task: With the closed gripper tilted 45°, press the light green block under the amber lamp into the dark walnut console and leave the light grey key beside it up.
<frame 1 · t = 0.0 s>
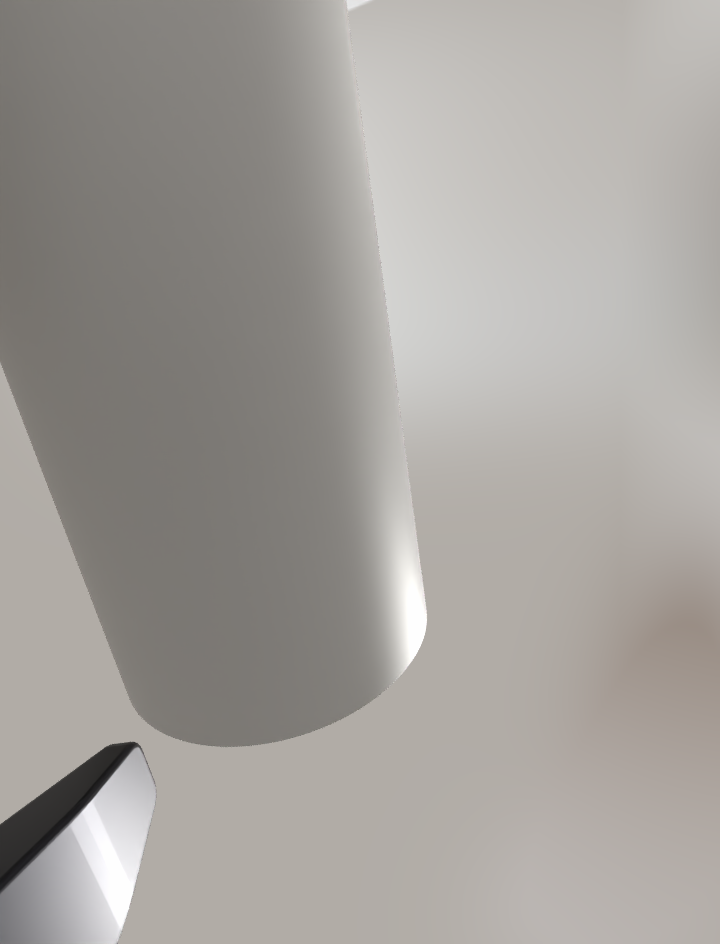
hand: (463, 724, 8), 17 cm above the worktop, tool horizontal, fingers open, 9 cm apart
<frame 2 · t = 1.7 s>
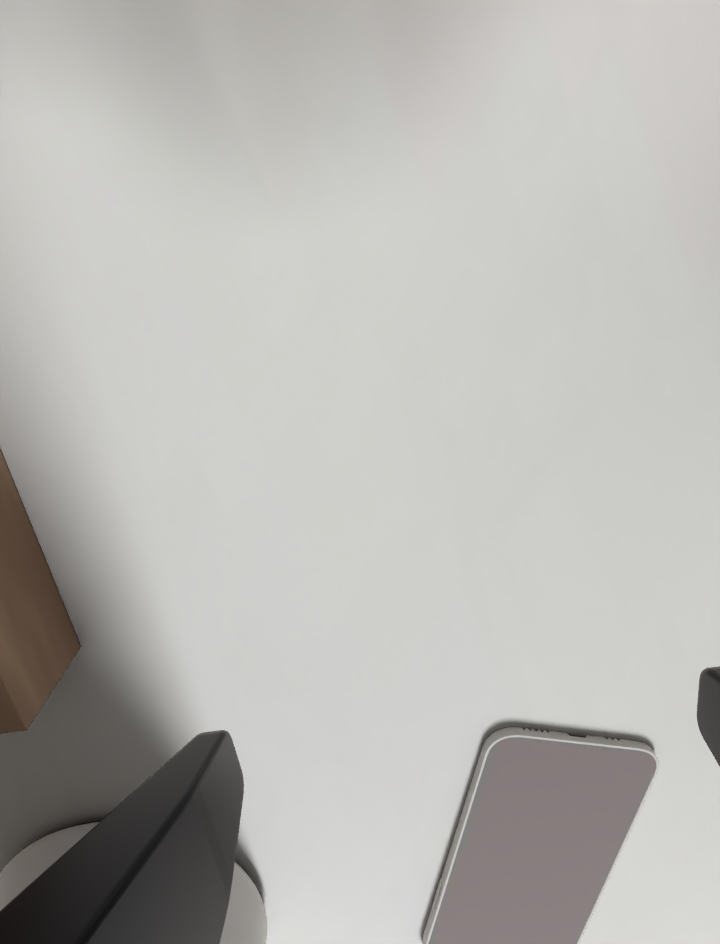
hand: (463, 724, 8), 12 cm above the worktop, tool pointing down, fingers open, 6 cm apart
cylinder vase: (138, 900, 28), on the worktop
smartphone: (525, 845, 28), on the worktop
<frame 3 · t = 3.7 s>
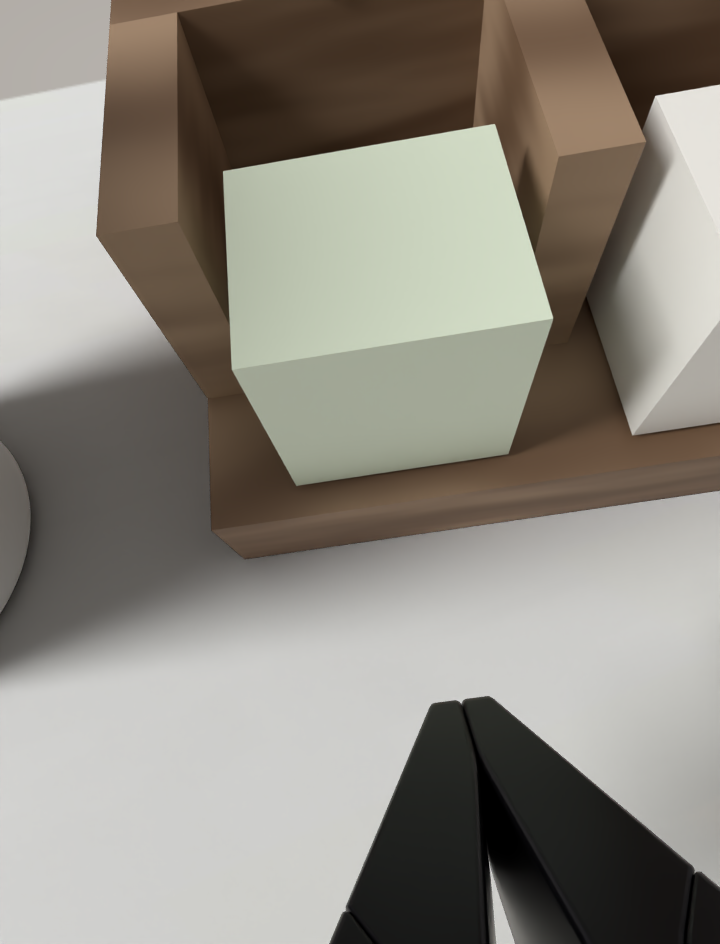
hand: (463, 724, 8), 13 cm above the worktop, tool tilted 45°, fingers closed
light green block: (382, 329, 17), point 8 cm above the worktop, slide at 0.0 cm
key console: (492, 286, 27), on the worktop
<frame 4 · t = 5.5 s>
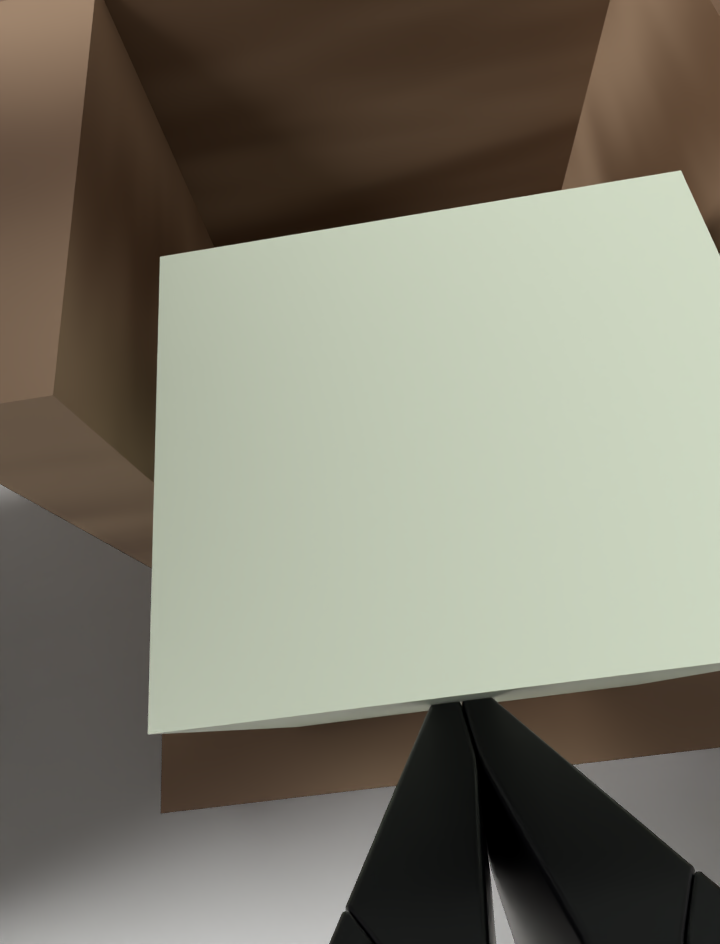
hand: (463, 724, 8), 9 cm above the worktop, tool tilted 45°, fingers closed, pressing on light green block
light green block: (444, 512, 10), point 8 cm above the worktop, slide at 0.3 cm, touching gripper
key console: (569, 375, 20), on the worktop
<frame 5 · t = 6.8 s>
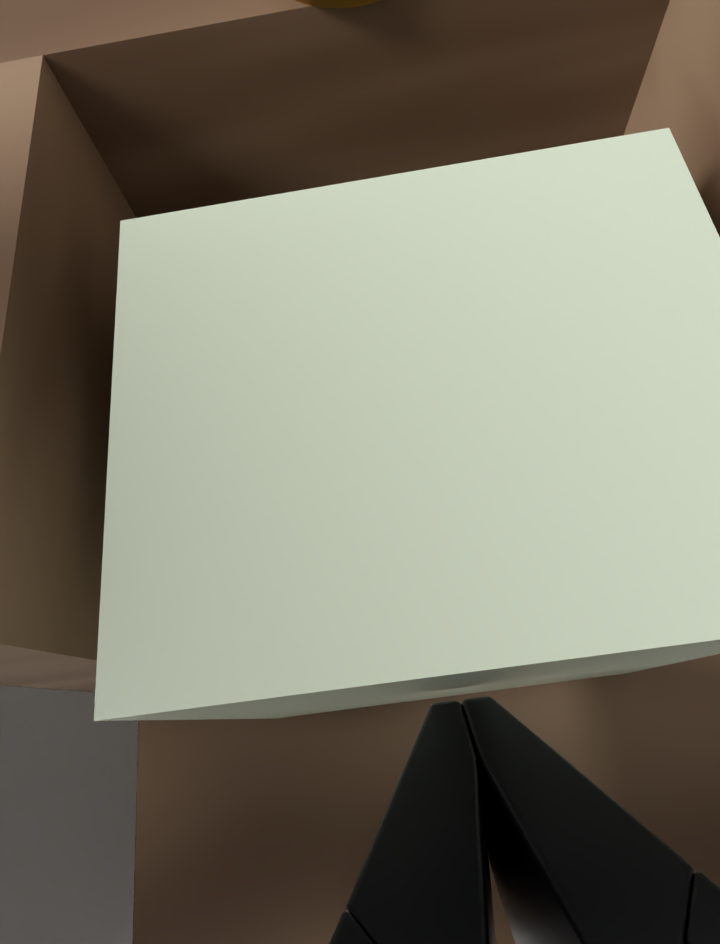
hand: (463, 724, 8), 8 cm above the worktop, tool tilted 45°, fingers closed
light green block: (425, 493, 10), point 8 cm above the worktop, slide at 3.2 cm
key console: (583, 441, 18), on the worktop
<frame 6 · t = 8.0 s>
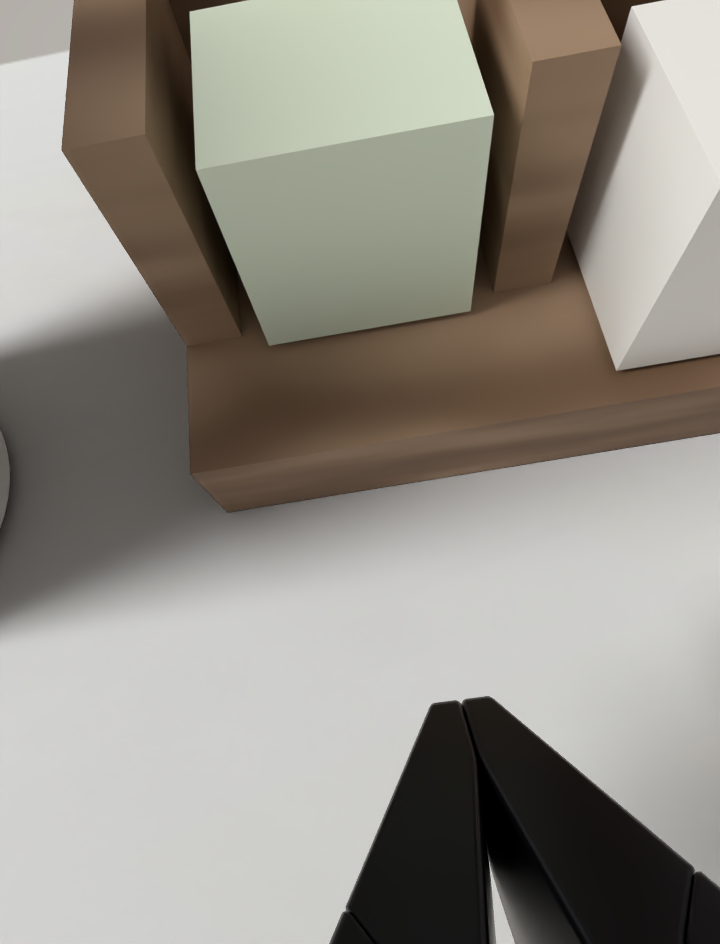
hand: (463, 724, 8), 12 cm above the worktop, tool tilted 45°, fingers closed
light green block: (345, 178, 18), point 8 cm above the worktop, slide at 3.2 cm
key console: (476, 240, 27), on the worktop
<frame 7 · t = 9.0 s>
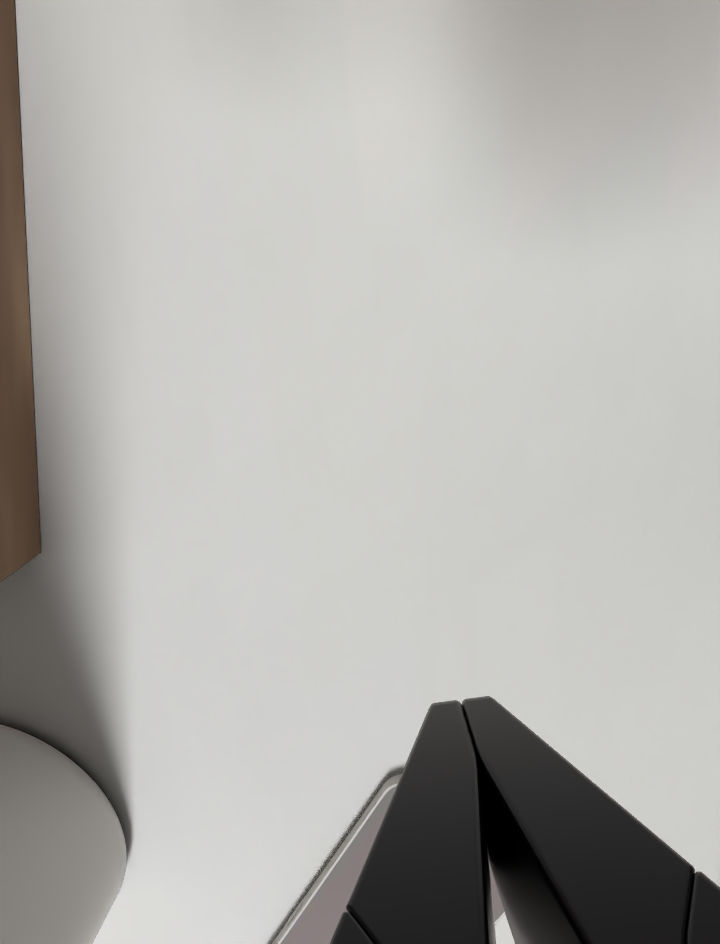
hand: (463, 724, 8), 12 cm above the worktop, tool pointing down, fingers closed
cylinder vase: (11, 812, 28), on the worktop
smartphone: (395, 896, 27), on the worktop
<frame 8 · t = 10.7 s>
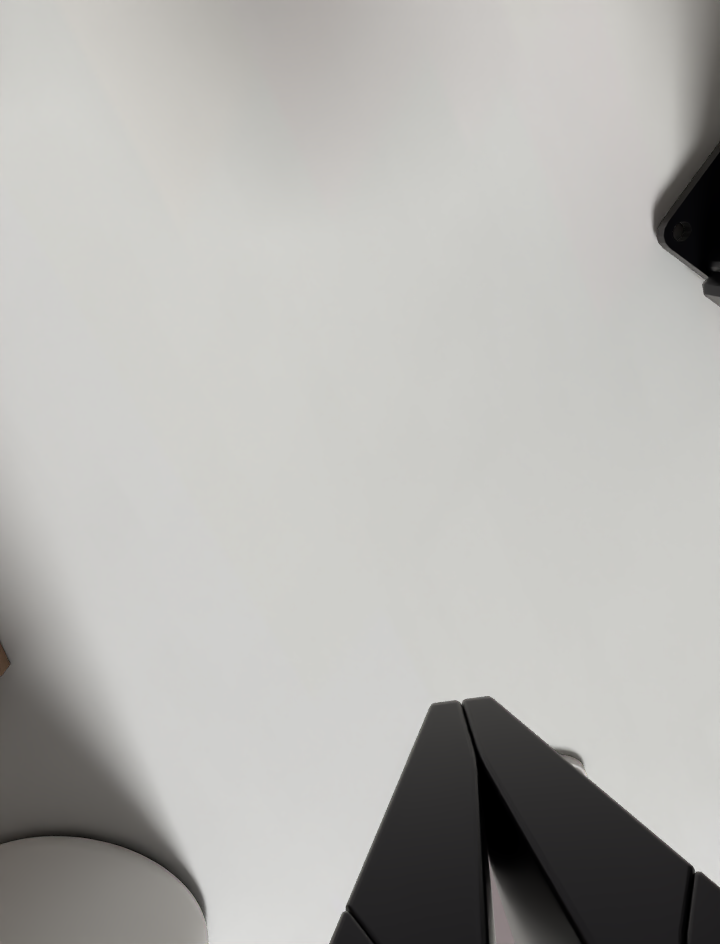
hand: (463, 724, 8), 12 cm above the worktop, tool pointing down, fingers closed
cylinder vase: (81, 913, 28), on the worktop
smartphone: (465, 858, 28), on the worktop
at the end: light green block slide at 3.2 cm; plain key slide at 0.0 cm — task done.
